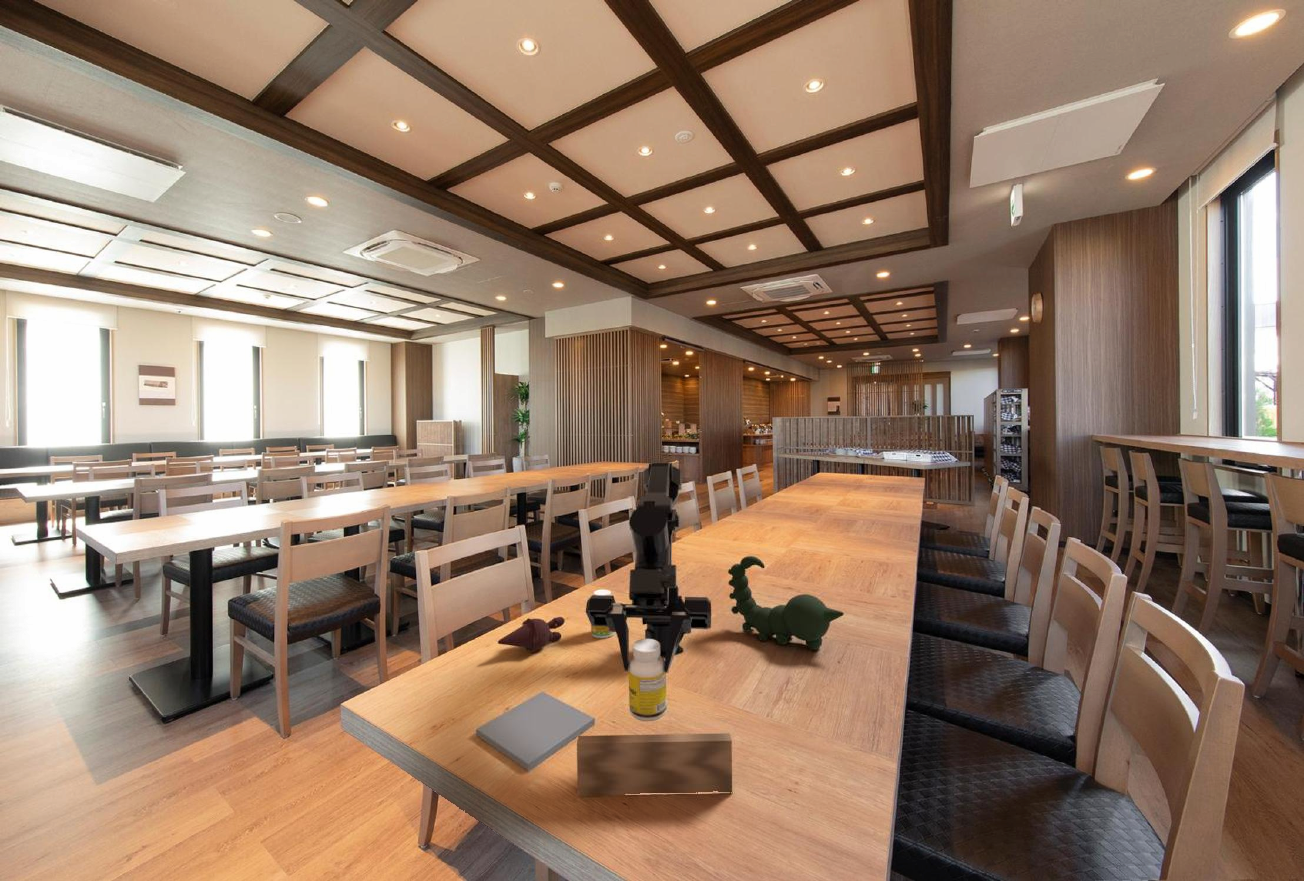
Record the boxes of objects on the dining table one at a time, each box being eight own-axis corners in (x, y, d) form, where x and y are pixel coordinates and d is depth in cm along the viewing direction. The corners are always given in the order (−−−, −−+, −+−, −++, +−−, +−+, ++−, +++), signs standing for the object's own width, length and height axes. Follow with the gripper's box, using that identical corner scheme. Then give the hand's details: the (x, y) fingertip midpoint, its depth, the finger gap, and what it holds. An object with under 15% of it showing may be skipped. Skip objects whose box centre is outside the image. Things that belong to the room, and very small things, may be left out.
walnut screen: (730, 784, 63) (729, 733, 63) (732, 793, 61) (731, 740, 61) (579, 787, 63) (578, 735, 63) (577, 796, 61) (576, 743, 61)
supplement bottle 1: (594, 640, 106) (593, 597, 106) (588, 631, 111) (587, 590, 111) (617, 636, 108) (616, 594, 108) (610, 627, 113) (609, 586, 113)
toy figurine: (727, 642, 108) (841, 663, 93) (719, 559, 108) (832, 567, 94) (745, 628, 116) (853, 645, 101) (738, 550, 116) (844, 556, 101)
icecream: (507, 637, 94) (573, 623, 104) (494, 617, 100) (558, 605, 109) (501, 668, 96) (567, 651, 105) (489, 646, 101) (553, 632, 111)
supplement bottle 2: (629, 701, 71) (627, 636, 71) (665, 699, 71) (664, 635, 71) (629, 724, 66) (628, 654, 65) (668, 721, 66) (667, 652, 66)
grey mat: (542, 696, 84) (542, 691, 84) (594, 724, 76) (594, 717, 76) (476, 735, 74) (476, 728, 74) (528, 770, 66) (528, 763, 66)
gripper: (587, 543, 72) (569, 649, 62) (710, 544, 71) (713, 653, 60) (598, 577, 81) (584, 675, 70) (709, 579, 79) (712, 680, 68)
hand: (646, 671), depth 67 cm, fingers closed on supplement bottle 2, 5 cm apart
